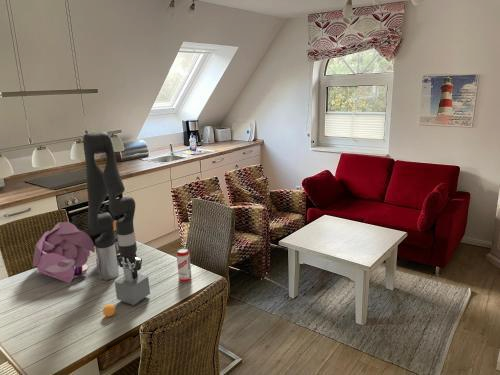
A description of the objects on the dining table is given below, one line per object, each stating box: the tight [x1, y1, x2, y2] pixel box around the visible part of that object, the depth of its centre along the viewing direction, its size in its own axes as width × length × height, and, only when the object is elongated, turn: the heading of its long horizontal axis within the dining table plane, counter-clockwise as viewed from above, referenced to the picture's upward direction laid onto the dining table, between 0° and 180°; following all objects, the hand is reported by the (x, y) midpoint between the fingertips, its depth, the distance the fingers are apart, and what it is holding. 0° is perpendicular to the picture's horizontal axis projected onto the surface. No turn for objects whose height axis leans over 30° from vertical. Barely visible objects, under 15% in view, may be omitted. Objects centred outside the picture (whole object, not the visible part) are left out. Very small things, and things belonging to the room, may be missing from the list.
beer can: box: [176, 247, 192, 284], centre depth 186 cm, size 6×6×16 cm
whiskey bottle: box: [100, 202, 119, 262], centre depth 211 cm, size 10×10×32 cm
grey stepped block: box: [114, 265, 151, 306], centre depth 170 cm, size 10×10×15 cm
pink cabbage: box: [32, 221, 96, 284], centre depth 196 cm, size 35×24×28 cm
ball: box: [102, 303, 117, 318], centre depth 161 cm, size 5×5×5 cm
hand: (131, 277), depth 170 cm, fingers closed on grey stepped block, 4 cm apart
